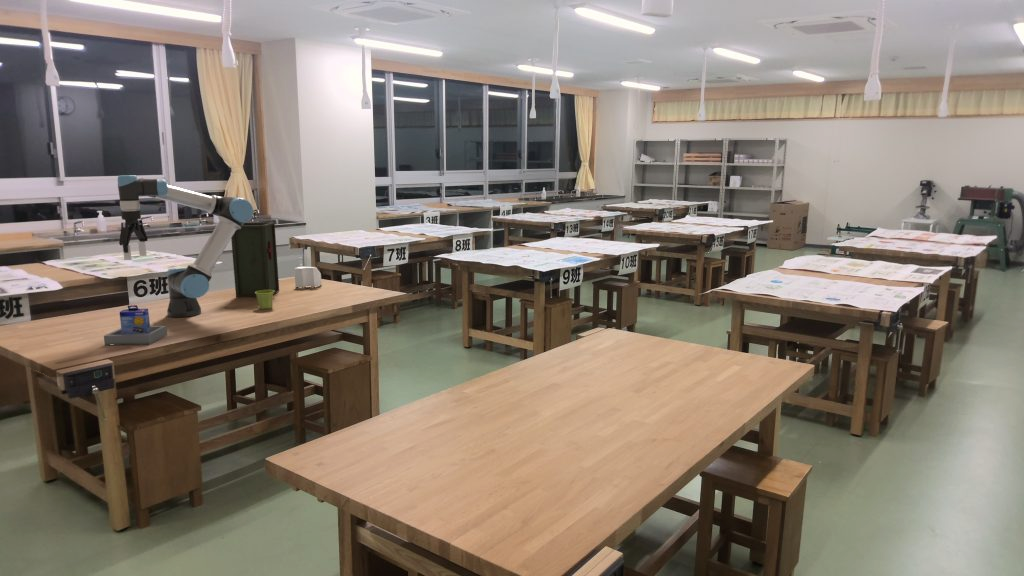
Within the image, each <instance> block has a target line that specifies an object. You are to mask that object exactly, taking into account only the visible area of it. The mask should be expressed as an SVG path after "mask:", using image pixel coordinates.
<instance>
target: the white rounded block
mask: <svg viewBox="0 0 1024 576" xmlns="http://www.w3.org/2000/svg"><path fill="white" fill-rule="evenodd" d="M293 270H294V284H295V285H294V286H295V288H296V287H306V286H311V287H315V286H318V285H321V286H322V274H321V272H320V270H319V268H317V267H316V266H297V267H294V269H293ZM318 287H319V286H318ZM306 288H307V287H306ZM315 288H316V287H315Z"/></svg>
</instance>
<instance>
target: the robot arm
mask: <svg viewBox="0 0 1024 576" xmlns="http://www.w3.org/2000/svg"><path fill="white" fill-rule="evenodd" d="M117 188H118V189H117V190H118V194H119V205H120V210H121V212H120V215H121V219H122V220H125V222H120V225H121V226H120V235H119V240H118V241H119V242H118V244H119V246H122V250H123V260H124V261H132V253H131V245H130V241H131V237H132V234H133V233H134V235H135V236H136V238H137V239H138V240H139V241H138V242H137V243H138V244H137V245H138V253H139V257H143V256H144V257H146V256H147V247H146V242H148V235H147V231H146V230H145V228H144V225H143V220H142V217H141V216H142V214H141V211H140V209H141V204H140V197H150V198H152V199H157V200H162V201H165V202H169V203H173V204H177V205H182V206H185V207H190V208H194V209H198V210H201V211H206V212H207V213H208V214H209V215H213V216H217V217H218V220H219V221H218V222H217V224H216V226H215V228H214V229H213V231H212V233H211V234H210V236H209V237H208V239H207V240H206V243H205V244H204V245H203V247H202V249H201V251H200V252H199V254H198V256H197V257H196V259H195V260H194V262H193V263H191V264H188V265H187V266H186V267H181V268H172V269H168V270H167V275H166V277H167V284H168V293H169V294H168V295H169V302H168V306H167V310H166V312H167V313H166V314H167V315H168V316H167V317H170V318H186V317H195V316H197V315H201V313H202V307H201V305H200V303H199V302H198V298H199V299H200V298H201V297H203V296H205V295H206V294H207V292H208V290H209V287H210V281H211V279H212V278H213V277H212V273H211V272H212V271H213V269H214V268H215V265H216V264H217V263H218V261H219V259H220V257H221V256H222V255H223V253H224V251H225V249H226V248H227V246H228V244H229V243H230V242H231V238H232V236H233V234H234V233H235V231H236V230H238V229H241V228H242V226H243V224H244V223H248V221H250V220H251V219H252V218H253V215H254V208H253V207H254V206H253V205H252V203H251V202H250V201H249V200H247V199H246V198H243V197H234V196H221V195H220V196H219V195H216V194H212V195H207V194H204V193H200V192H195V191H192V190H188V189H184V188H180V187H177V186H172V185H168V183H167V181H166V179H163V178H162V179H161V178H153V179H152V178H137V175H134V174H132V175H131V174H127V175H126V174H122V175H118V176H117Z"/></svg>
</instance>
